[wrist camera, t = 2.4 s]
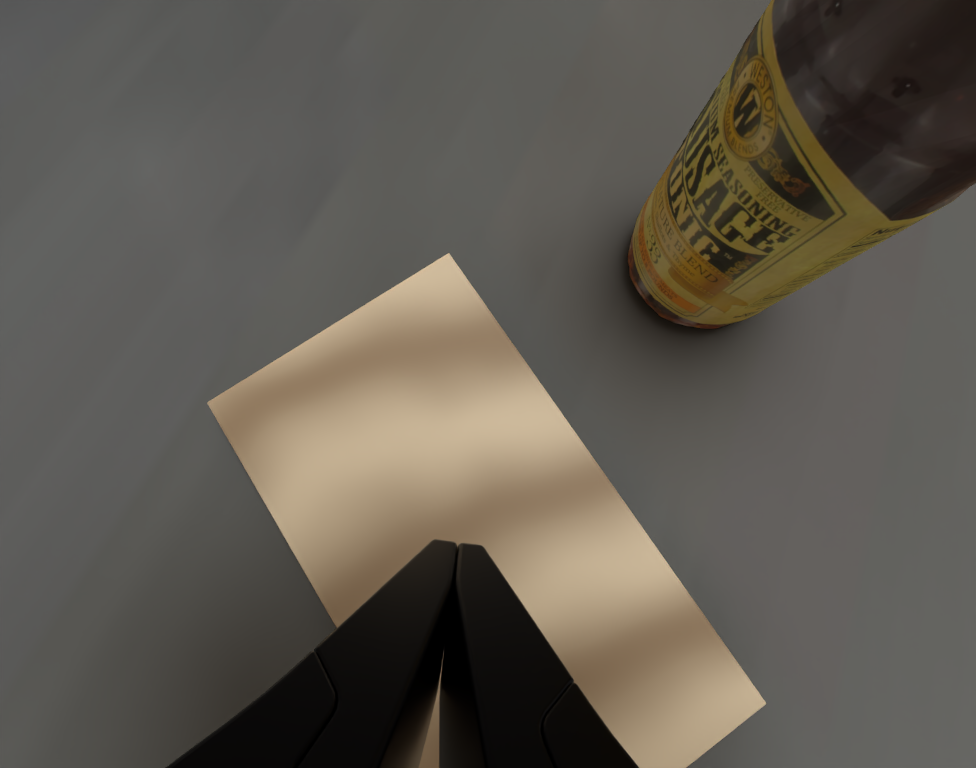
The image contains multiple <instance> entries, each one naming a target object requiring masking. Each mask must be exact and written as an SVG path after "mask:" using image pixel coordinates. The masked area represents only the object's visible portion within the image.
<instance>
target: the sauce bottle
mask: <svg viewBox="0 0 976 768" xmlns="http://www.w3.org/2000/svg"><path fill="white" fill-rule="evenodd" d="M975 183H976V0H772V1H771V2H770V4H769V5H768V7H767V9H766V10H765V12H764V13H763V15H762V16H761V18H760V19H759V21H758V22H757V24H756V25H755V27H754V29H753V30H752V32H751V33H750V35H749V36H748V38H747V39H746V41H745V43H744V44H743V46H742V48H741V50H740V52H739V53H738V55H737V57H736V58H735V60H734V61H733V63H732V65H731V66H730V68H729V70H728V71H727V73H726V74H725V75H724V76H723V78H722V79H721V81H720V84H719V86H718V87H717V88H716V89H715V91H714V93H713V95H712V96H711V98H710V100H709V101H708V103H707V104H706V106H705V107H704V109H703V111H702V112H701V113H700V115H699V117H698V119H697V120H696V121H695V122H694V125H693V126H692V128H691V129H690V131H689V133H688V135H687V137H686V138H685V139H684V141H683V143H682V145H681V147H680V148H679V150H678V151H677V153H676V155H675V156H674V158H673V159H672V161H671V163H670V164H669V166H668V167H667V169H666V171H665V172H664V174H663V175H662V177H661V179H660V180H659V182H658V183H657V185H656V187H655V188H654V190H653V192H652V193H651V194H650V196H649V197H648V199H647V201H646V202H645V204H644V206H643V207H642V209H641V212H640V214H639V216H638V218H637V221H636V224H635V229H634V232H633V235H632V236H631V244H630V248H629V253H628V264H629V267H630V269H629V274H630V278H631V279H632V281H633V283H634V285H635V287H636V289H637V290H638V292H639V294H640V295H641V296H642V297H643V299H644V300H645V302H646V303H647V304H648V305H650V306H651V307H652V308H653V310H654V311H655V312H656V313H658V315H659V316H661V317H662V318H665V319H667V320H669V321H671V322H673V323H678V324H683V325H685V326H692V327H697V328H703V329H715V328H719V327H723V326H726V325H728V324H730V323H734V322H738V321H742V320H745V319H747V318H749V317H752V316H754V315H756V314H758V313H760V312H761V311H763V310H764V309H766V308H768V307H769V306H771V305H773V304H775V303H777V302H778V301H780V300H782V299H783V298H785V297H787V296H788V295H790V294H792V293H794V292H795V291H797V290H799V289H800V288H802V287H804V286H806V285H807V284H809V283H811V282H812V281H814V280H816V279H817V278H819V277H821V276H823V275H824V274H826V273H828V272H829V271H831V270H833V269H835V268H836V267H838V266H840V265H842V264H844V263H845V262H847V261H849V260H851V259H852V258H854V257H856V256H858V255H860V254H861V253H863V252H865V251H867V250H868V249H870V248H872V247H874V246H875V245H877V244H879V243H881V242H883V241H884V240H886V239H888V238H889V237H891V236H893V235H895V234H897V233H898V232H900V231H902V230H904V229H906V228H908V227H909V226H911V225H913V224H915V223H916V222H918V221H920V220H922V219H923V218H925V217H927V216H928V215H930V214H932V213H934V212H935V211H937V210H939V209H940V208H942V207H944V206H945V205H947V204H949V203H951V202H952V201H954V200H955V199H956V198H957V197H959V196H960V195H961V194H962V193H963V192H964V191H965V190H966V189H968V188H969V187H970V186H972V185H973V184H975Z"/></svg>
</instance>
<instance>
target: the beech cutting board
mask: <svg viewBox="0 0 976 768" xmlns="http://www.w3.org/2000/svg"><path fill="white" fill-rule="evenodd" d="M207 403H208V405H209V407H210V409H211V410H212V412H213V414H214V416H215V417H216V419H217V421H218V422H219V424H220V426H221V428H222V429H223V431H224V433H225V435H226V436H227V438H228V440H229V442H230V443H231V445H232V447H233V449H234V450H235V452H236V454H237V455H238V457H239V459H240V461H241V462H242V464H243V466H244V468H245V469H246V471H247V473H248V475H249V476H250V478H251V480H252V482H253V483H254V485H255V487H256V488H257V490H258V492H259V494H260V495H261V497H262V499H263V501H264V502H265V504H266V506H267V508H268V509H269V511H270V513H271V515H272V516H273V518H274V520H275V522H276V523H277V525H278V527H279V528H280V530H281V532H282V534H283V535H284V537H285V539H286V541H287V542H288V544H289V546H290V548H291V549H292V551H293V553H294V555H295V556H296V558H297V560H298V561H299V563H300V565H301V567H302V568H303V570H304V572H305V574H306V575H307V577H308V579H309V581H310V582H311V584H312V586H313V588H314V589H315V591H316V593H317V594H318V596H319V598H320V600H321V601H322V603H323V605H324V607H325V608H326V610H327V612H328V614H329V615H330V617H331V619H332V621H333V622H334V624H335V626H336V627H338V626H340V625H341V624H342V623H343V622H344V621H345V620H346V619H347V618H348V617H349V616H350V615H351V614H353V613H354V612H355V611H356V610H357V609H358V608H359V607H360V606H361V605H362V604H363V603H364V602H366V601H367V600H368V599H369V598H370V597H371V596H372V595H373V594H374V593H375V592H376V591H377V590H379V589H380V588H381V587H382V586H383V585H384V584H385V583H386V582H387V581H388V580H389V579H390V578H391V577H393V576H394V575H395V574H396V573H397V572H398V571H399V570H400V569H401V568H402V567H403V566H404V565H406V564H407V563H408V562H409V561H410V560H411V559H412V558H413V557H414V556H415V555H416V554H417V553H419V552H420V551H421V550H422V549H423V548H424V547H425V546H426V545H427V544H428V543H429V542H430V541H432V540H434V539H439V540H447V541H454V542H455V543H456V544H457V547H458V545H459V544H460V543H470V544H478V545H482V546H483V547H484V548H485V549H486V551H487V552H488V554H489V555H490V556H491V558H492V559H493V561H494V562H495V564H496V565H497V567H498V568H499V570H500V571H501V573H502V574H503V576H504V577H505V579H506V580H507V582H508V583H509V585H510V586H511V588H512V589H513V590H514V592H515V593H516V595H517V596H518V598H519V599H520V601H521V602H522V604H523V605H524V607H525V608H526V610H527V611H528V613H529V614H530V616H531V617H532V619H533V620H534V621H535V623H536V624H537V626H538V627H539V629H540V630H541V632H542V633H543V635H544V636H545V638H546V639H547V641H548V642H549V644H550V645H551V647H552V648H553V650H554V651H555V652H556V654H557V655H558V657H559V658H560V660H561V661H562V663H563V664H564V666H565V667H566V669H567V670H568V672H569V673H570V675H571V676H572V678H573V679H574V683H576V684H577V685H578V686H579V688H580V689H581V690H582V692H583V693H584V695H585V696H586V698H587V699H588V701H589V702H590V704H591V705H592V706H593V708H594V709H595V711H596V712H597V713H598V715H599V716H600V718H601V719H602V720H603V722H604V723H605V724H606V726H607V727H608V729H609V730H610V731H611V733H612V734H613V735H614V737H615V738H616V739H617V740H618V742H619V743H620V744H621V745H622V747H623V748H624V749H625V750H626V752H627V753H628V754H629V755H630V757H631V758H632V759H633V760H634V762H635V763H636V764H637V765H638V767H639V768H686V767H687V766H689V765H690V764H691V763H692V762H694V761H695V760H696V759H697V758H699V757H700V756H701V755H703V754H704V753H705V752H706V751H708V750H709V749H710V748H711V747H713V746H714V745H715V744H716V743H718V742H719V741H720V740H721V739H723V738H724V737H725V736H726V735H728V734H729V733H730V732H731V731H733V730H734V729H735V728H736V727H738V726H739V725H740V724H741V723H743V722H744V721H745V720H746V719H748V718H749V717H750V716H752V715H753V714H754V713H755V712H757V711H758V710H759V709H760V708H762V707H763V706H764V705H765V704H766V702H765V701H764V699H763V698H762V697H761V695H760V694H759V692H758V691H757V690H756V688H755V687H754V685H753V684H752V682H751V681H750V680H749V678H748V677H747V675H746V674H745V673H744V671H743V670H742V668H741V667H740V665H739V664H738V663H737V661H736V660H735V658H734V657H733V656H732V654H731V653H730V651H729V650H728V648H727V647H726V646H725V644H724V643H723V641H722V640H721V638H720V637H719V636H718V634H717V633H716V631H715V630H714V629H713V627H712V626H711V624H710V623H709V621H708V620H707V619H706V617H705V616H704V614H703V613H702V612H701V610H700V609H699V607H698V606H697V604H696V603H695V602H694V600H693V599H692V597H691V596H690V595H689V593H688V592H687V590H686V589H685V587H684V586H683V585H682V583H681V582H680V580H679V579H678V577H677V576H676V575H675V573H674V572H673V570H672V569H671V568H670V566H669V565H668V563H667V562H666V560H665V559H664V558H663V556H662V555H661V553H660V552H659V551H658V549H657V548H656V546H655V545H654V543H653V542H652V541H651V539H650V538H649V536H648V535H647V534H646V532H645V531H644V529H643V528H642V526H641V525H640V524H639V522H638V521H637V519H636V518H635V517H634V515H633V514H632V512H631V511H630V509H629V508H628V507H627V505H626V504H625V502H624V501H623V499H622V498H621V497H620V495H619V494H618V492H617V491H616V490H615V488H614V487H613V485H612V484H611V482H610V481H609V480H608V478H607V477H606V475H605V474H604V473H603V471H602V470H601V468H600V467H599V465H598V464H597V463H596V461H595V460H594V458H593V457H592V456H591V454H590V453H589V451H588V450H587V448H586V447H585V446H584V444H583V443H582V441H581V440H580V438H579V437H578V436H577V434H576V433H575V431H574V430H573V429H572V427H571V426H570V424H569V423H568V421H567V420H566V419H565V417H564V416H563V414H562V413H561V412H560V410H559V409H558V407H557V406H556V404H555V403H554V402H553V400H552V399H551V397H550V396H549V395H548V393H547V392H546V390H545V389H544V387H543V386H542V385H541V383H540V382H539V380H538V379H537V377H536V376H535V375H534V373H533V372H532V370H531V369H530V368H529V366H528V365H527V363H526V362H525V360H524V359H523V358H522V356H521V355H520V353H519V352H518V351H517V349H516V348H515V346H514V345H513V343H512V342H511V341H510V339H509V338H508V336H507V335H506V334H505V332H504V331H503V329H502V328H501V326H500V325H499V324H498V322H497V321H496V319H495V318H494V317H493V315H492V314H491V312H490V311H489V309H488V308H487V307H486V305H485V304H484V302H483V301H482V299H481V298H480V297H479V295H478V294H477V292H476V291H475V290H474V288H473V287H472V285H471V284H470V282H469V281H468V280H467V278H466V277H465V275H464V274H463V273H462V271H461V270H460V268H459V267H458V265H457V264H456V263H455V261H454V260H453V258H452V257H451V256H450V254H449V253H448V254H446V255H445V256H443V257H442V258H440V259H438V260H437V261H435V262H434V263H432V264H430V265H429V266H427V267H425V268H424V269H422V270H421V271H419V272H417V273H416V274H414V275H413V276H411V277H409V278H408V279H406V280H404V281H403V282H401V283H400V284H398V285H396V286H395V287H393V288H392V289H390V290H388V291H387V292H385V293H383V294H382V295H380V296H379V297H377V298H375V299H374V300H372V301H371V302H369V303H367V304H366V305H364V306H362V307H361V308H359V309H358V310H356V311H354V312H353V313H351V314H350V315H348V316H346V317H345V318H343V319H341V320H340V321H338V322H337V323H335V324H333V325H332V326H330V327H328V328H327V329H325V330H324V331H322V332H320V333H319V334H317V335H316V336H314V337H312V338H311V339H309V340H307V341H306V342H304V343H303V344H301V345H299V346H298V347H296V348H295V349H293V350H291V351H290V352H288V353H286V354H285V355H283V356H282V357H280V358H278V359H277V360H275V361H274V362H272V363H270V364H269V365H267V366H265V367H264V368H262V369H261V370H259V371H257V372H256V373H254V374H253V375H251V376H249V377H248V378H246V379H244V380H243V381H241V382H240V383H238V384H236V385H235V386H233V387H232V388H230V389H228V390H227V391H225V392H223V393H222V394H220V395H219V396H217V397H215V398H214V399H212V400H211V401H209V402H207ZM443 654H444V653H443ZM442 662H443V660H442ZM441 670H442V667H441ZM440 680H441V674H440ZM439 697H440V681H439V687H438V692H437V696H436V701H435V705H434V709H433V713H432V717H431V721H430V725H429V729H428V733H427V737H426V741H425V745H424V749H423V753H422V757H421V760H420V764H419V768H439Z"/></svg>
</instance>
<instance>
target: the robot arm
mask: <svg viewBox="0 0 976 768" xmlns="http://www.w3.org/2000/svg"><path fill="white" fill-rule="evenodd" d="M443 653H444V654H443ZM442 660H443V662H442ZM441 667H442V670H441ZM440 674H441V680H440ZM439 681H440V697H439V768H639V767H638V765H637V764H636V763H635V762H634V760H633V759H632V758H631V757H630V755H629V754H628V753H627V752H626V750H625V749H624V748H623V747H622V745H621V744H620V743H619V742H618V740H617V739H616V738H615V737H614V735H613V734H612V733H611V731H610V730H609V729H608V727H607V726H606V724H605V723H604V722H603V720H602V719H601V718H600V716H599V715H598V713H597V712H596V711H595V709H594V708H593V706H592V705H591V704H590V702H589V701H588V699H587V698H586V696H585V695H584V693H583V692H582V690H581V689H580V688H579V686H578V685H577V684H576V683H574V679H573V678H572V676H571V675H570V673H569V672H568V670H567V669H566V667H565V666H564V664H563V663H562V661H561V660H560V658H559V657H558V655H557V654H556V652H555V651H554V650H553V648H552V647H551V645H550V644H549V642H548V641H547V639H546V638H545V636H544V635H543V633H542V632H541V630H540V629H539V627H538V626H537V624H536V623H535V621H534V620H533V619H532V617H531V616H530V614H529V613H528V611H527V610H526V608H525V607H524V605H523V604H522V602H521V601H520V599H519V598H518V596H517V595H516V593H515V592H514V590H513V589H512V588H511V586H510V585H509V583H508V582H507V580H506V579H505V577H504V576H503V574H502V573H501V571H500V570H499V568H498V567H497V565H496V564H495V562H494V561H493V559H492V558H491V556H490V555H489V554H488V552H487V551H486V549H485V548H484V547H483V546H482V545H478V544H470V543H460V544H459V545H458V547H457V544H456V543H455V542H454V541H447V540H439V539H434V540H432V541H430V542H429V543H428V544H427V545H426V546H425V547H424V548H423V549H422V550H421V551H420V552H419V553H417V554H416V555H415V556H414V557H413V558H412V559H411V560H410V561H409V562H408V563H407V564H406V565H404V566H403V567H402V568H401V569H400V570H399V571H398V572H397V573H396V574H395V575H394V576H393V577H391V578H390V579H389V580H388V581H387V582H386V583H385V584H384V585H383V586H382V587H381V588H380V589H379V590H377V591H376V592H375V593H374V594H373V595H372V596H371V597H370V598H369V599H368V600H367V601H366V602H364V603H363V604H362V605H361V606H360V607H359V608H358V609H357V610H356V611H355V612H354V613H353V614H351V615H350V616H349V617H348V618H347V619H346V620H345V621H344V622H343V623H342V624H341V625H340V626H338V627H337V628H336V629H335V630H334V631H333V632H332V633H331V634H330V635H329V636H328V637H327V638H325V639H324V640H323V641H322V642H321V643H320V644H319V645H318V646H317V647H316V648H315V649H314V651H312V652H310V653H309V654H308V655H307V656H306V657H305V658H304V659H302V660H301V661H300V662H299V663H298V664H297V665H296V666H295V667H294V668H293V669H291V670H290V671H289V672H288V673H287V674H286V675H285V676H283V677H282V678H281V679H280V680H279V681H278V682H276V683H275V684H274V685H273V686H272V687H271V688H270V689H268V690H267V691H266V692H265V693H264V694H263V695H261V696H260V697H259V698H257V699H256V700H255V701H254V702H252V703H251V704H250V705H248V706H247V707H246V708H245V709H243V710H242V711H241V712H239V713H238V714H237V715H236V716H234V717H233V718H232V719H230V720H229V721H228V722H227V723H225V724H224V725H222V726H221V727H220V728H218V729H217V730H216V731H214V732H213V733H212V734H210V735H209V736H208V737H206V738H205V739H204V740H202V741H201V742H200V743H198V744H197V745H196V746H194V747H193V748H191V749H190V750H189V751H187V752H186V753H185V754H183V755H182V756H181V757H179V758H178V759H177V760H175V761H174V762H173V763H171V764H170V765H169V766H167V767H166V768H419V764H420V760H421V757H422V753H423V749H424V745H425V741H426V737H427V733H428V729H429V725H430V721H431V717H432V713H433V709H434V705H435V701H436V696H437V692H438V687H439Z"/></svg>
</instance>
